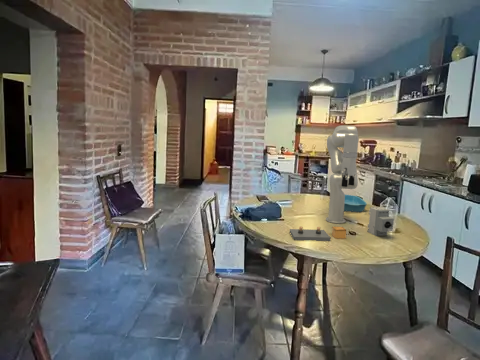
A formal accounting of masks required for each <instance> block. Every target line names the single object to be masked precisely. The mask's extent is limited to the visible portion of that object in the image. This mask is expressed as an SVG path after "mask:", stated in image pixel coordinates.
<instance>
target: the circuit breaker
mask: <svg viewBox="0 0 480 360" xmlns="http://www.w3.org/2000/svg"><path fill="white" fill-rule="evenodd" d="M368 215H369V218H368V224H367V228H366V229H367V231H366V232H367V233H369V234H371V235H373V236H375V237H379V236H387V235H388V233H389V232H394V231H393V230H394V224H395V223H394V220H395V219H394V217H391V216H390V209H387V208H385V207H381V206H376V207H375V206H373V207H369V210H368Z"/></svg>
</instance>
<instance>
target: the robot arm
mask: <svg viewBox="0 0 480 360" xmlns="http://www.w3.org/2000/svg"><path fill="white" fill-rule="evenodd" d="M332 132H333V133H332V134H331V135H329V136H328V137H326V138H327V139H326V147H327V151H328V153H329V156H330V168H331V173H332V174H331V175H330V177H329V203H328V217H327V216H326V217H325V221H326V222H328V223H332V224H344V223H346V219H345V218H344V214H345V213H344V212H345V211H344V203H345V193H344V191H343V190H344V189H348V190H349V189H350V190H354V189H355V190H356V188H357V187H358V184H359V179H358V169H357V159H358V150H359V149H358V147H359V133H358V128H357V127H356V126H355V125H343V124H342V125H338V126H336V127H335V128H334V131H332ZM341 148H342V149H343V152H342V151H341Z"/></svg>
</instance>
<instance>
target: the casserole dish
mask: <svg viewBox="0 0 480 360" xmlns="http://www.w3.org/2000/svg"><path fill="white" fill-rule="evenodd" d="M344 194H345V193H344ZM367 204H368V203H367V201H365V200H364V199H363V198H361V197H359V196H357V195H352V194H347V193H346V194H345V203H344V212H351V213H352V212H353V213H355V212H356V213H361V212H363V211H364V210H365V208H366V207H367Z"/></svg>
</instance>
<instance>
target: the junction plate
mask: <svg viewBox="0 0 480 360" xmlns="http://www.w3.org/2000/svg"><path fill="white" fill-rule="evenodd" d="M290 233H291V234H290ZM289 234H290V235H292V236H291V238H292V237H293V238H292V239H295V240H294V241H304V240H316V242H320V241H321V242H331V236H330V235H329V234H328V233H327V231H325V230H324V229H321V227H320V226H317V227H316V229H306V228H305V229H303V226H299V227H298V228H289Z"/></svg>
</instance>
